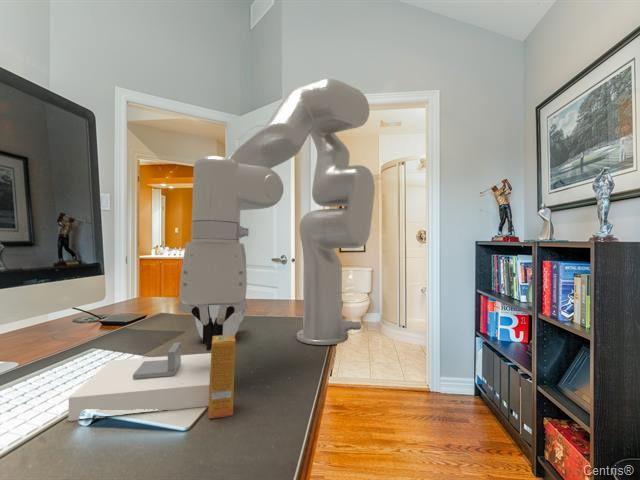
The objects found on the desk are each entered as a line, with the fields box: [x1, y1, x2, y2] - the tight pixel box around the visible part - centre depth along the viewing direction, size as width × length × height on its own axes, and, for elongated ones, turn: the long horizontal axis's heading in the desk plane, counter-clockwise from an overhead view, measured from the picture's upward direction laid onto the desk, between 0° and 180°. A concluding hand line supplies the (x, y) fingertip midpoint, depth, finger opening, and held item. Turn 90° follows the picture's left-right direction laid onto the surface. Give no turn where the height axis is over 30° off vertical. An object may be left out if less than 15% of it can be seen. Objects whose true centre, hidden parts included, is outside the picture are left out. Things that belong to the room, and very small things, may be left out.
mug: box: [194, 304, 247, 340], centre depth 79 cm, size 15×11×13 cm
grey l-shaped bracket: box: [133, 341, 182, 379], centre depth 50 cm, size 6×6×3 cm
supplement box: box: [207, 335, 237, 419], centre depth 44 cm, size 3×3×10 cm
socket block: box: [67, 352, 211, 422], centre depth 50 cm, size 18×14×3 cm
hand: (212, 347), depth 52 cm, fingers closed
